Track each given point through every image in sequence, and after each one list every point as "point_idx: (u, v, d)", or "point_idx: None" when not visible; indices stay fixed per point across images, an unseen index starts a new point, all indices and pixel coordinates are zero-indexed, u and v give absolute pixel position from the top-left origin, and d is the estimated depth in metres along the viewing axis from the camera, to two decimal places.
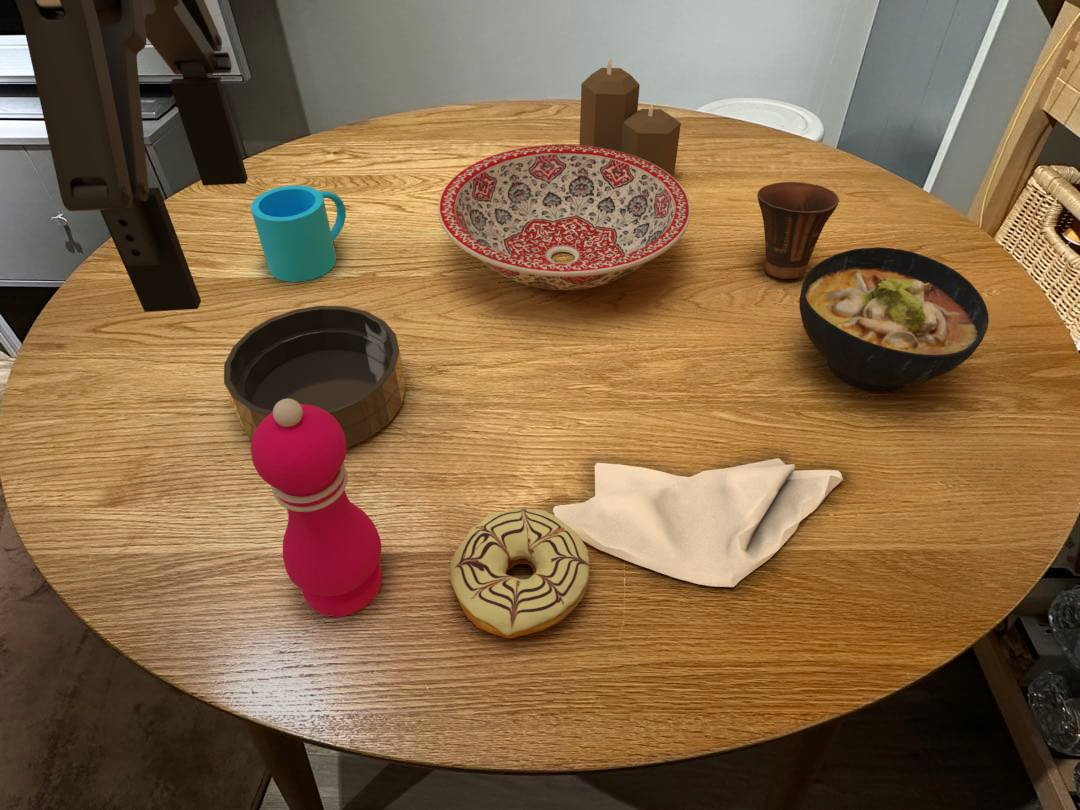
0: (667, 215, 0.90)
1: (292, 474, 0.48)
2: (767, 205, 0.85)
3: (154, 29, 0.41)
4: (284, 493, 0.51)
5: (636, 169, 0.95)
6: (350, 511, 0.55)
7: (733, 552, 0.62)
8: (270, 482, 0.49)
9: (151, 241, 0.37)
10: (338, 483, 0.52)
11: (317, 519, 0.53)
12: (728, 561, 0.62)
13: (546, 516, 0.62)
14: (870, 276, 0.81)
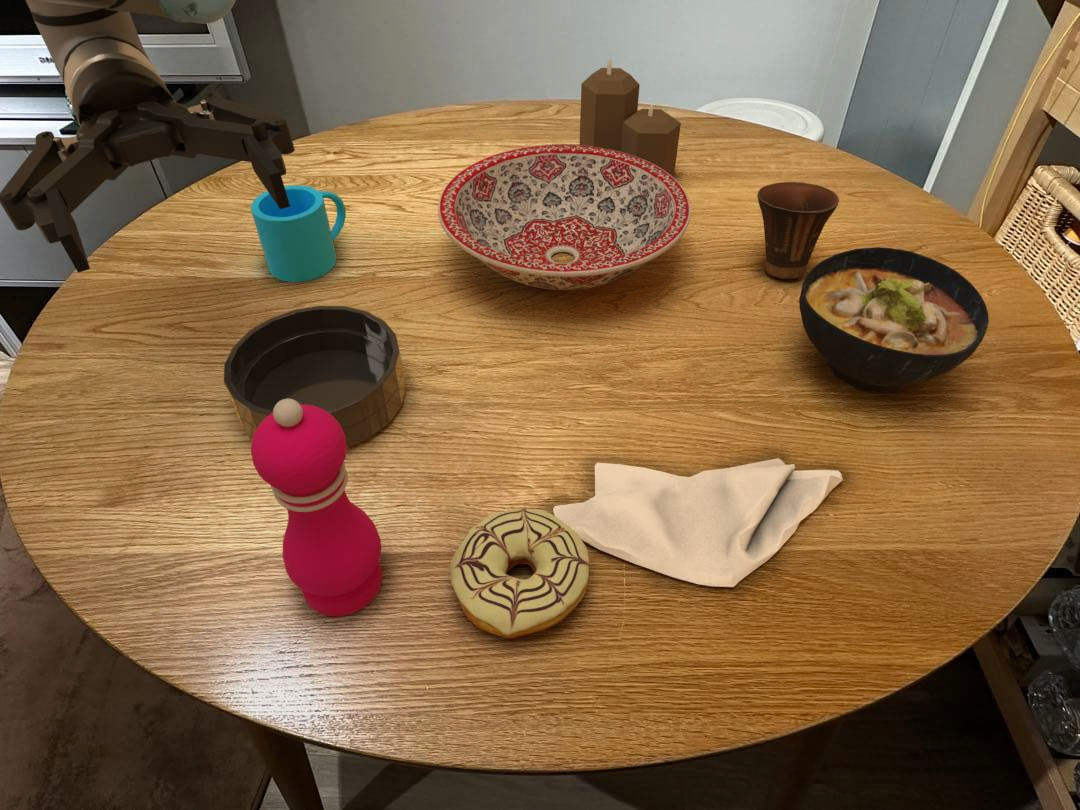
0: (667, 215, 0.90)
1: (293, 474, 0.48)
2: (767, 205, 0.85)
3: (84, 169, 0.56)
4: (284, 493, 0.51)
5: (636, 169, 0.95)
6: (350, 511, 0.55)
7: (733, 552, 0.62)
8: (270, 482, 0.49)
9: None
10: (338, 483, 0.52)
11: (318, 519, 0.53)
12: (728, 561, 0.62)
13: (546, 516, 0.62)
14: (870, 276, 0.81)
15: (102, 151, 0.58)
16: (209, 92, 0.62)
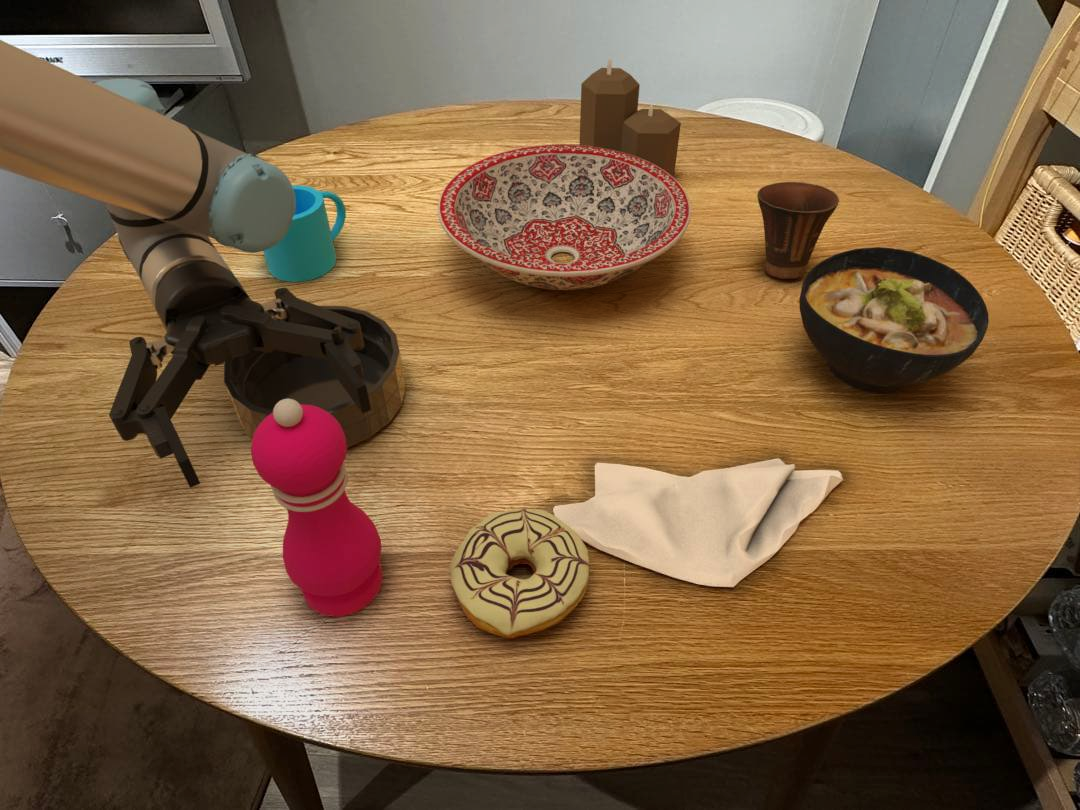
0: (667, 215, 0.90)
1: (293, 474, 0.48)
2: (767, 205, 0.85)
3: (180, 377, 0.62)
4: (284, 493, 0.51)
5: (636, 169, 0.95)
6: (350, 511, 0.55)
7: (733, 552, 0.62)
8: (270, 482, 0.49)
9: None
10: (338, 483, 0.52)
11: (318, 519, 0.53)
12: (728, 561, 0.62)
13: (546, 516, 0.62)
14: (870, 276, 0.81)
15: (193, 357, 0.63)
16: (282, 290, 0.69)
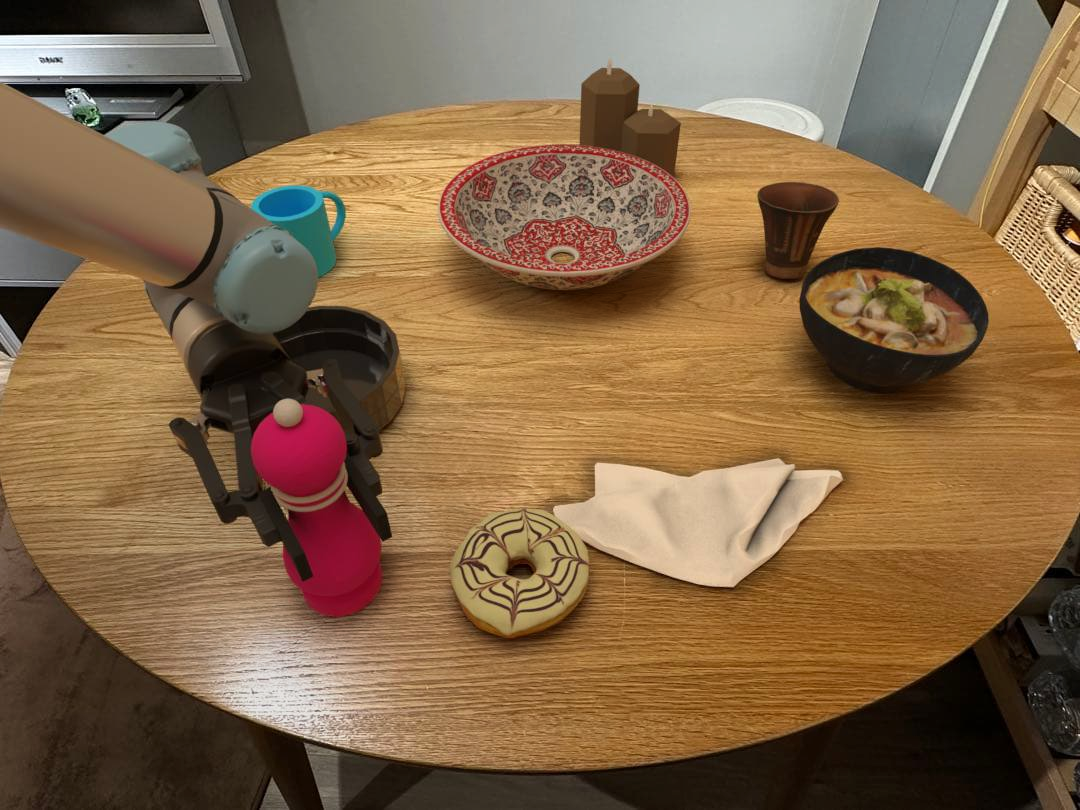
0: (667, 215, 0.90)
1: (293, 474, 0.48)
2: (767, 205, 0.85)
3: None
4: (284, 493, 0.51)
5: (636, 169, 0.95)
6: (350, 511, 0.55)
7: (733, 552, 0.62)
8: (270, 482, 0.49)
9: None
10: (338, 483, 0.52)
11: (318, 519, 0.53)
12: (728, 561, 0.62)
13: (546, 516, 0.62)
14: (870, 276, 0.81)
15: (252, 427, 0.58)
16: (330, 363, 0.62)
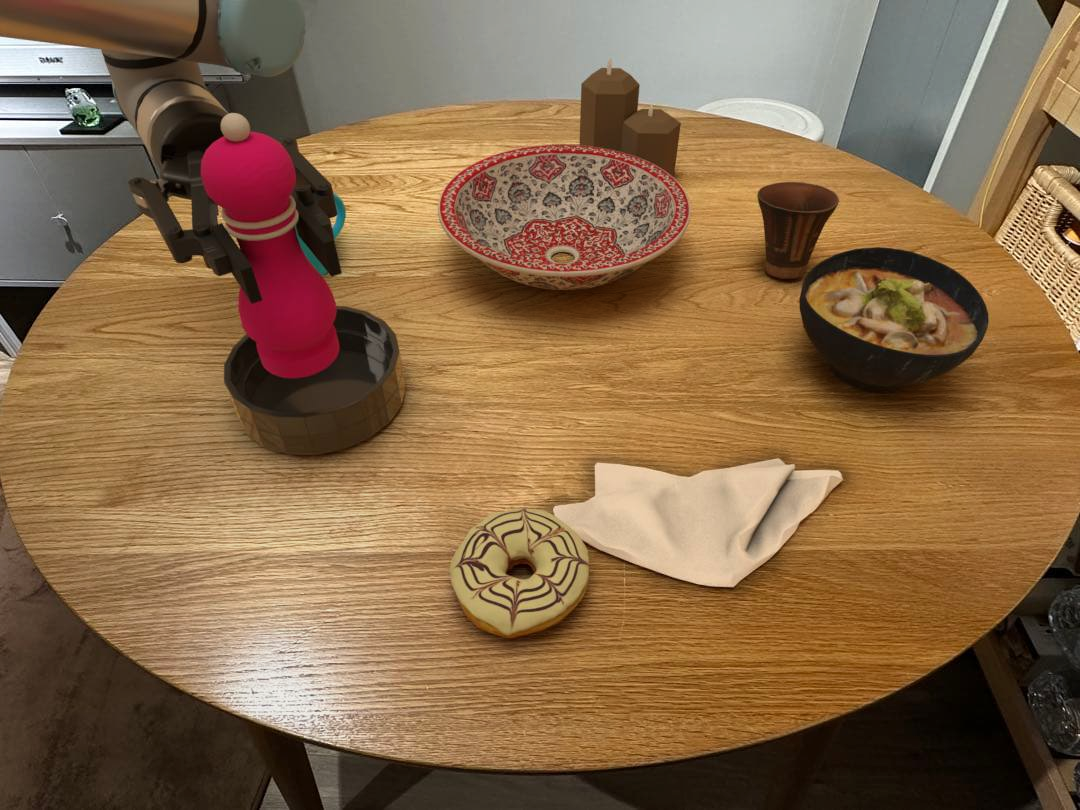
0: (667, 215, 0.90)
1: (239, 186, 0.49)
2: (767, 205, 0.85)
3: (211, 204, 0.58)
4: (234, 220, 0.52)
5: (636, 169, 0.95)
6: (303, 259, 0.57)
7: (733, 552, 0.62)
8: (219, 198, 0.50)
9: None
10: (288, 214, 0.53)
11: (269, 255, 0.54)
12: (728, 561, 0.62)
13: (546, 516, 0.62)
14: (870, 276, 0.81)
15: None
16: (289, 140, 0.63)
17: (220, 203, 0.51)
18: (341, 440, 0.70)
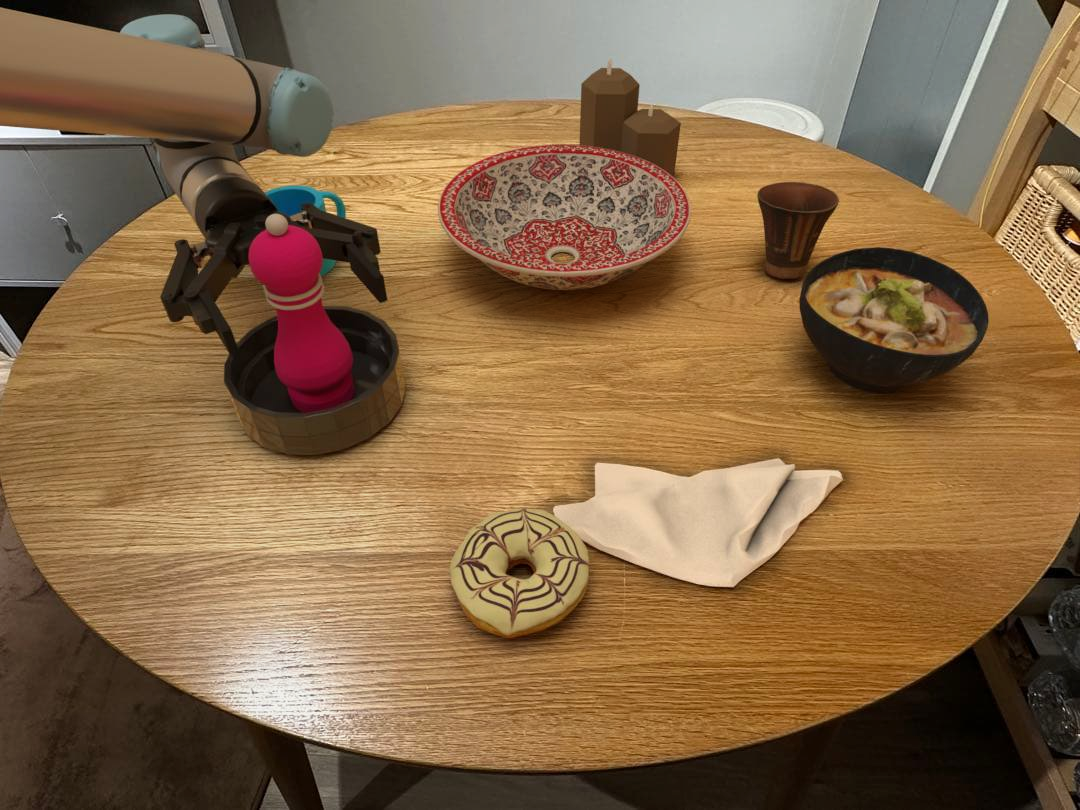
0: (667, 215, 0.90)
1: (280, 271, 0.63)
2: (767, 205, 0.85)
3: (220, 271, 0.70)
4: (274, 294, 0.66)
5: (636, 169, 0.95)
6: (327, 321, 0.70)
7: (733, 552, 0.62)
8: (263, 279, 0.64)
9: None
10: (316, 289, 0.67)
11: (301, 320, 0.68)
12: (728, 561, 0.62)
13: (546, 516, 0.62)
14: (870, 276, 0.81)
15: (230, 256, 0.72)
16: (307, 204, 0.77)
17: (264, 283, 0.64)
18: (341, 440, 0.70)
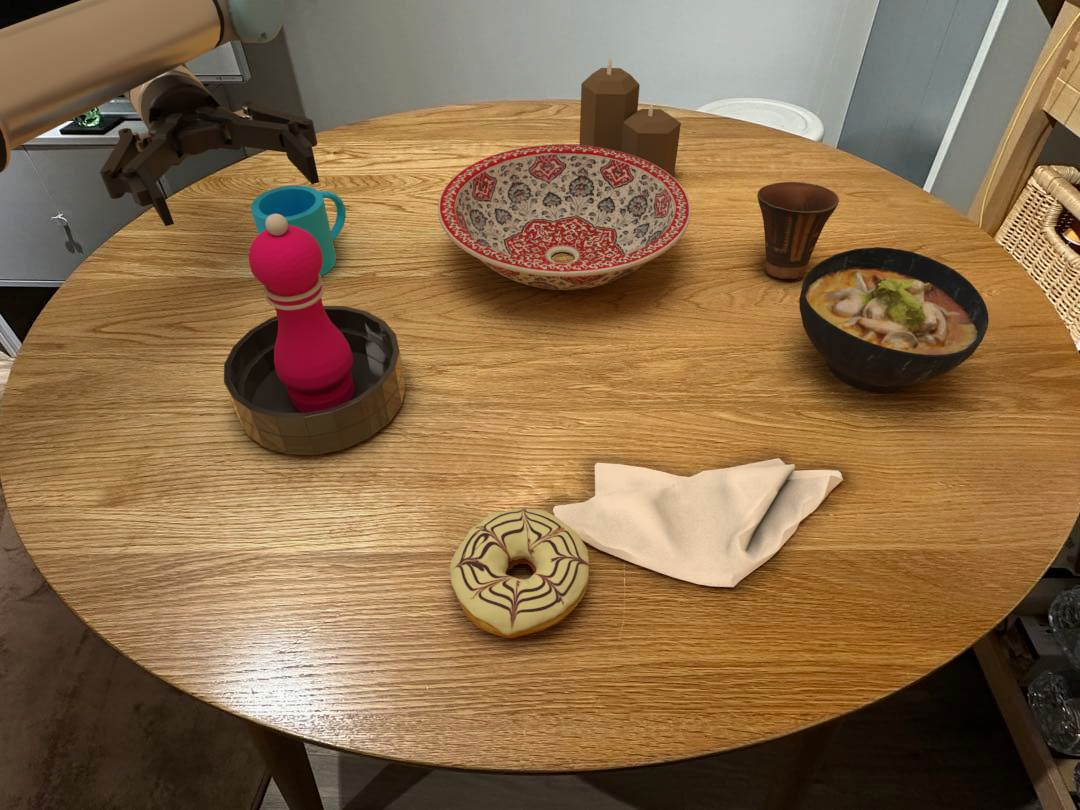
0: (667, 215, 0.90)
1: (280, 271, 0.63)
2: (767, 205, 0.85)
3: (160, 155, 0.74)
4: (274, 294, 0.66)
5: (636, 169, 0.95)
6: (327, 321, 0.70)
7: (733, 552, 0.62)
8: (263, 279, 0.64)
9: None
10: (316, 289, 0.67)
11: (301, 320, 0.68)
12: (728, 561, 0.62)
13: (546, 516, 0.62)
14: (870, 276, 0.81)
15: (171, 142, 0.75)
16: (249, 100, 0.81)
17: (264, 283, 0.64)
18: (341, 440, 0.70)
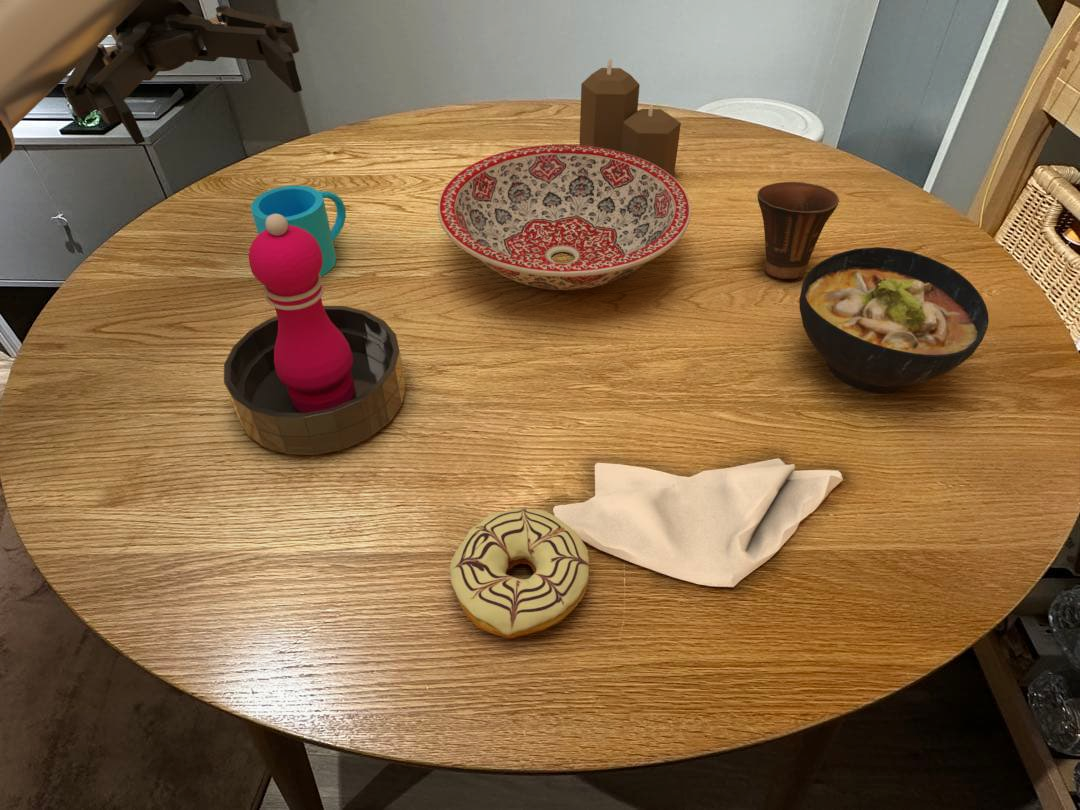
0: (667, 215, 0.90)
1: (280, 271, 0.63)
2: (767, 205, 0.85)
3: (128, 68, 0.68)
4: (274, 294, 0.66)
5: (636, 169, 0.95)
6: (327, 321, 0.70)
7: (733, 552, 0.62)
8: (263, 279, 0.64)
9: None
10: (316, 289, 0.67)
11: (301, 320, 0.68)
12: (728, 561, 0.62)
13: (546, 516, 0.62)
14: (870, 276, 0.81)
15: (140, 54, 0.70)
16: (222, 6, 0.74)
17: (264, 283, 0.64)
18: (341, 440, 0.70)
